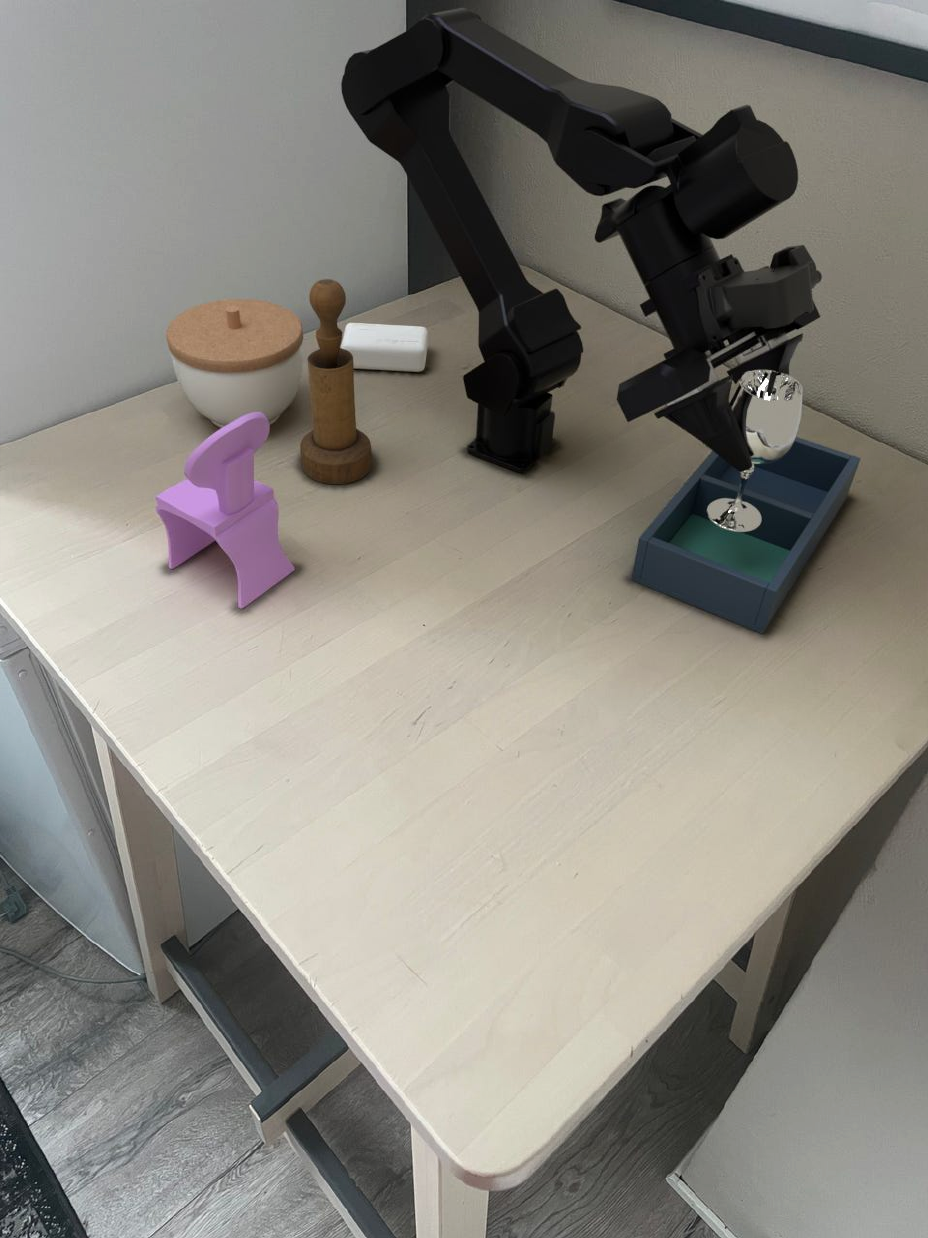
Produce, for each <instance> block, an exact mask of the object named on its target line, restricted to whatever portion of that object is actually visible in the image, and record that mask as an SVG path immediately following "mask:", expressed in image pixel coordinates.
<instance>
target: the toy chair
mask: <svg viewBox="0 0 928 1238" xmlns="http://www.w3.org/2000/svg"><path fill="white" fill-rule="evenodd" d="M270 428H271V425H269V422H268V420H267V418H266V416H265V415H264V414H263V413H261V412H253V413H249V414H246V415H244V416H242V417H240V418H238V419H236V420H235V421H233V422H231V423H230V424H228V425H226V426H224V427H223V428H219V429H218V430H216V431H215V432H213V433H212V434H211V435H210V436H209V437H207V438H206V439H205V440H203V442H201V443H200V444H199V445H198V446H197V447H195V449H194V450H193V451H192V452H191V454H190V455H189V456H188V458H187V460H186V462H185V464H184V475H185V477H186V479H183V480H182V481H180V482H179V483H177V484H174V485H173V486H171V487H169V488H167V489H165V490H163V491H162V492H160V493H158V494H157V495H156V496H155V501H156V504H157V505H155V511H156V513H157V514H158V516H159V518H160V519H161V521H162V523H163V525H164V528H165V531H166V536H167V545H168V546H167V548H168V549H167V550H168V551H167V552H168V568H169V569H171V570H173V569H175V568H176V567H178V566H179V565H181V564H183V563H184V562H185V561H187V560H189V559H190V558H192V557H193V556H194V555H196V554H197V553H199V552H201V551H202V550H203V549H205V548H206V547H208V546H210V545H211V544H213V543H214V542H216V543H217V544H218V545H219V547H220V548H221V549H222V550H223V552H224V553H226V555H227V556H228V557H229V559H230V560H231V562H232V563H233V566H234V568H235V571H236V572H235V573H236V575H237V591H238V592H237V593H238V595H237V596H238V597H237V607H238V608H239V609H241V610H243V609H244V608H245V607H247V606H248V605H250V604H251V603H252V602H254V601H255V600H256V599H258V598H259V597H260V596H262V595H263V594H265V593H266V592H267V591H269V590H270V589H271V588H273V587H274V586H276V585H277V584H278V583H279V582H281V581H282V580H284V579H285V578H286V577H288V576H289V575H290V574H291V573H293V572H294V571H295V570H296V568H295V566H294V564H293V563H292V562H291V561H290V559H289V558H288V557H287V556H286V553H285V552H284V550H283V549H282V545H281V542H280V539H279V511H280V510H279V504H278V501H277V500H276V498H275V493H274V488H272V487H271V486H269V485H267V484H264V483H263V482H260V481H258V480H257V479H256V480H255V454H256V453H257V452H258V450H259V449H260V448H261V447H262V446H263V445H264V443H265V442H266V441H267V439H268V438H269V434H270Z"/></svg>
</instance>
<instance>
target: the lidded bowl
mask: <svg viewBox="0 0 928 1238" xmlns="http://www.w3.org/2000/svg"><path fill="white" fill-rule="evenodd" d="M165 334H166V337H165V338H166V342H167V346H168V349H169V352H170V357H171V362H172V365H173V369H174V374H175V377H176V379H177V383H178V385H179V387H180V390H181V391H182V393H183V395H184V396H185V398H186V399H187V401H188V402H189V404H190V405H191V406H192V407H193V408H194V409H195V410H196V411H197V412H198V413H199V414H200V415H202V416H204V417H205V418H206V419H208V420H210V422H211V423H212V424H213V425H215V426H216V427H218V428H219V429H221V428H223V427H224V426H226V425H228V424H230V423H231V422H233V421H235V420H236V419H238V418H240V417H242V416H244V415H246V414H249V413H253V412H261V413H263V414H264V415H265V416H266V418H267V420H268V422H269V426H271V425H273V424H274V423H276V422H277V421H278V420H279V418H280V417H281V415H282V413H284V412H285V410H287V408H288V407H289V406H290V405H291V404H292V402H293V401H294V399H295V397H296V395H297V394H298V391H299V389H300V385H301V381H302V376H303V367H304V348H303V340H304V330H303V323H302V322H301V320H300V318H299V317H298V316H297V315H296V314H295V313H294V312H293V311H291V310H290V309H288V308H287V307H284V306H283V305H279V304H277V303H274V302H270V301H266V300H261V299H252V298H251V299H250V298H228V299H219V300H214V301H209V302H205V303H201V304H198V305H195V306H192V307H190V308H188V309H186V310H184V311H183V312H181V313H179V314H178V315H176V316H175V317H174V318H173V319H172V320H171V322H170V323H169V325H168V327H167V329H166V333H165Z"/></svg>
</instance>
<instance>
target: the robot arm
mask: <svg viewBox="0 0 928 1238" xmlns="http://www.w3.org/2000/svg"><path fill="white" fill-rule="evenodd" d="M452 83H457V84H458V85H460V86H461V87H463V88H464V89H466V90H468V91H469V92H471V93H472V94H474V96H475V95H476V96H477V97H478V98H480V99H481V100H483V101H485V102H486V103H488V104H489V105H491V106H493V107H494V108H496V109H497V110H499V111H500V112H502V113H504V114H505V115H507V116H508V117H510V118H512V119H513V120H514V121H516V122H517V123H519V124H520V125H522V126H524V127H526V129H528V130H531V131H532V132H533V133H534V134H536V135H538V136H539V137H540V138H541V139H542V140H543V141H544V142H545V143H546V144H547V146H548V149H549V151H550V154H551V157H552V159H553V161H554V163H555V164H556V166H557V167H558V168H559V169H561V170H562V171H563V172H564V174H565V175H567V176H568V177H569V178H570V179H571V180H572V181H573V182H574V183H575V184H577V185H578V187H580V189H582V190H583V191H584V192H586V193H588V194H590V195H592V196H596V197H603V196H607V195H611V194H613V193H616V192H619V191H622V190H624V189H626V188H627V189H638V188H641V187H643V188H642V189H640V190H639V191H638V192H637V193H635V194H634V195H633V196H631V197H630V198H628V199H624V198H622V197H619V198H616V199H613V200H611V201H608V202H605V203H603V204H602V205H601V214H600V218H599V221H598V223H597V225H596V230H595V233H594V240H595V242H596V243H599V244H600V243H603V242H605V241H606V242H607V241H608V240H610V239H613V238H616V237H617V236H619V237H620V240H621V241H622V243H623V245H624V247H625V250H626V252H627V254H628V256H629V258H630V260H631V262H632V264H633V267H634V269H635V271H636V273H637V274H638V277H639V279H640V281H641V283H642V285H643V286H644V290H645V291H646V294H647V295H648V299H646V300H645V301H644V302H642V303H640V304H639V307H640V309H641V310H642V313H643V315H644V318H646V317H648V316H650V315H653V314H655V313H656V314H657V317H658V319H659V320H660V323H661V325H662V327H663V329H664V331H665V333H666V335H667V337H668V339H669V342H670V344H671V345H672V349H670V350H668V351H666V352H665V353H663V357H664V359H663V360H662V361H660V362H658V363H656V364H654V365H652V366H650V367H649V368H646V369H645V370H643V371H641V372H639V373H637V374H635V375H634V376H631V377H629V378H627V379H625V380H624V381H622V382H620V383H619V384H618V387H617V393H616V394H617V395H616V401H617V403H618V406H619V407H620V410H621V412H622V413H623V416H624V418H625V420H626V422H627V423H630V422H631V421H634V420H636V419H639V418H640V417H642V416H644V415H646V414H648V413H651V412H653V411H655V410H657V409H659V408H661V407H662V408H661V409H659V410H657V411H655V412H654V416H655V418H656V419H661V418H665V419H667V421H670V422H671V423H673V424H674V425H676V426H677V427H679V428H681V429H682V430H684V431H685V432H687V433H688V434H690V435H691V436H692V437H694V438H695V439H696V440H698V441H699V442H700V443H702V444H703V445H705V446H706V447H707V448H708V449H710V450H711V452H712V451H714V452H715V453H716V454H717V455H719V456H720V457H721V458H723V459H724V460H725V461H726V462H728V463H729V464H730V465H732V466H733V467H734V468H735V469H737V470H738V471H740V472H743V471H746V470H748V469H750V468H751V467H752V462H751V458H750V455H749V452H748V449H747V446H746V443H745V441H744V438H743V436H742V433H741V431H740V428H739V426H738V423H737V421H736V418H735V416H734V413H733V411H732V408H731V406H730V403H729V396H730V394H731V390H732V384H733V383H734V384H735V385H736V383H737V382H738V380H739V378H740V377H741V376H742V374H744V373H746V372H748V371H751V370H757V369H767V370H774V371H779V372H782V373H785V374H787V375H789V376H790V364H791V361H792V359H793V357H794V353H795V352H796V350H797V347H798V345H799V344H800V343H801V342H802V341H803V338H804V333H800V334H798V335H795V336H793V337H791V338H788V334H789V333H791V332H793V331H798V330H800V329H803V328H804V327H806V326H808V325H810V324H811V323H813V322H815V321H816V320H818V319H819V318H821V313H820V312H819V310H818V308H817V305H816V303H815V301H814V298H813V289H814V288H815V287H816V285H818V284H819V283H820V282H821V281H822V279H823V275H822V273H821V271H820V270H818V269H817V264H816V263H815V260H814V259H813V258H812V256H811V254H810V253H809V251H808V249H807V247H806V246H805V244H800V245H799V244H798V245H791V246H786V247H784V248H782V249H780V250H778V251H775V252H774V254H773V256H772V259H771V262H770V264H769V265H765V266H762V267H760V268H758V269H755V270H748V271H745V270H744V269H743V267H742V265H741V263H740V260H739V258H738V257H734V255H733V253H731V254H729V255H727V256H725V257H722V258H720V256H719V252H718V250H717V249H716V247H715V245H714V243H713V241H712V240H713V239H714V240H724V239H726V238H728V237H730V236H731V235H733V234H735V233H737V232H738V231H739V230H741V229H743V228H745V227H746V226H747V225H749V224H750V223H753V222H754V221H756V220H757V219H759V218H760V217H762V216H763V215H765V214H767V213H768V212H770V211H772V210H773V209H775V208H776V207H778V206H780V205H781V204H783V203H784V202H786V201H788V200H789V199H790V198H791V197H792V196H793V195H794V194H795V192H796V190H797V188H798V183H799V170H798V165H797V159H796V157H795V154H794V152H793V149H792V147H791V145H790V143H789V142H788V141H784V139H783V138H782V136H781V135H780V134H779V133H778V132H777V131H776V130H775V129H774V128H773V126H771V125H769V124H768V123H766V122H764V121H762V120H759V119H757V117H756V116H755V113H754V111H753V108H752V106H751V105H750V104H744V105H742V106H738V107H736V108H732V109H730V110H729V111H728V112H726V113H725V114H723V115H722V116H721V117H720V118H718V120H717V121H716V122H715V123H714V124H713V126H712V127H711V128H710V129H709V130H708V131H706V132H705V133H701V132H698V131H697V130H695V129H693V128H691V127H689V126H687V125H685V124H684V123H682V122H680V121H678V120H676V119H674V118H672V113H671V112H670V110H669V108H668V107H667V105H665V103H663V102H662V101H661V100H660V99H658V98H656V97H654V96H651V95H648V94H645V93H642V92H639V91H636V90H633V89H630V88H626V87H624V86H620V85H619V86H618V85H610V84H603V83H597V82H590V81H587V80H584V79H581V78H578V77H577V76H576V75H573V74H571V72H568V71H567V70H565V69H563V68H561V67H560V66H558V65H556V64H555V63H553V61H552V62H551V61H550V60H548V59H547V58H545V57H543V56H542V55H540V54H538V53H536V52H535V51H533V50H532V49H530V48H528V47H526V46H525V45H523V44H521V43H520V42H518V41H517V40H515V39H513V38H511V37H510V36H508V35H507V34H505V33H503V32H501V31H500V30H498V29H496V28H495V27H493V26H491V25H490V24H488V23H486V22H485V21H483V19H482V17H481V16H480V15H479V14H478V13H477V12H476V11H474V10H470V9H468V8H465V7H460V8H459V7H458V8H454V9H449V10H443V11H437V12H433V13H430V14H425V15H424V17H422V19H420V20H418V21H417V22H416V23H415V24H413V25H412V26H410V27H409V28H408V29H407V30H406V31H404V32H402V33H400V34H398V35H396V36H395V37H393V38H390V39H389V40H388V41H386V42H384V43H382V44H381V45H379V46H377V47H374V48H373V49H368V50H363V51H358V52H354V53H353V54H352V55H351V56H349V58H348V60H347V62H346V64H345V67H344V73H343V75H342V78H341V82H340V86H341V95H342V99H343V102H344V104H345V107H346V109H347V111H348V113H349V115H350V116H351V117H352V119H353V120H354V121H355V123H356V124H357V126H358V128H359V129H360V130H361V132H362V133H363V135H364V137H365V138H366V139H367V140H368V142H369V143H370V144H372V145H374V146H375V147H376V148H377V149H379V150H381V151H382V152H384V153H385V154H387V155H388V156H389V157H390V158H392V159H394V160H395V161H396V162H398V163H399V164H400V166H401V167H402V169H403V171H404V173H405V175H406V176H407V178H408V180H409V182H410V184H411V186H412V188H413V190H414V192H415V193H416V195H417V197H418V199H419V201H420V203H421V204H422V207H423V209H424V211H425V212H426V214H427V216H428V218H429V220H430V222H431V224H432V225H433V227H434V230H435V231H436V233H437V235H438V236H439V239H440V241H441V242H442V244H443V246H444V248H445V249H446V253H447V254H448V255H449V257H450V260H451V261H452V263H453V265H454V267H455V269H456V270H457V273H458V274H459V276H460V278H461V280H462V282H463V285H464V286H465V288H466V290H467V292H468V293H469V296H470V297H471V299H472V301H473V303H474V305H475V306H476V309H477V312H478V337H477V338H478V339H477V342H478V343H477V345H478V349H479V352H480V354H481V356H482V359H483V362H481V363H480V364H478V365H476V366H475V367H474V368H473V369H471V370H470V371H468V372H466V373H465V374H464V375H462V380H463V385H464V390H465V395H466V398H467V399H468V400H470V401H472V402H474V403H475V404H477V414H476V415H477V416H476V429H475V431H476V432H475V435H476V436H475V439H473V440H472V441H471V442H470V443H469V444H467V445H466V451H467V453H468V454H471V455H473V456H476V457H479V458H481V459H484V460H486V461H489V462H492V463H494V464H497V465H499V466H502V467H505V468H506V469H507V468H508V469H510V470H512V471H514V472H517V473H523V474H524V473H526V472H528V470H529V469H530V468H531V467H533V466H534V465H535V463H537V462H538V461H540V460H541V459H542V458H544V456H545V455H546V454H547V453H548V452H549V451H550V450H551V449H552V448H553V447H554V446H555V444H556V439H555V438H554V437H553V436H554V428H555V427H554V426H555V419H556V413H555V411H554V410H553V411H552V403H553V394H552V393H550V392H552V391H554V390H556V389H557V388H558V389H559V388H562V387H563V386H565V385H566V382H567V380H568V379H569V378H570V377H572V376H574V374H575V373H577V371H578V369H579V368H580V365H581V363H582V362H581V361H582V354H583V352H584V345H583V341H582V338H581V336H580V334H579V332H578V331H579V330H581V329H582V325H581V324H579V322H578V321H577V320H576V319H575V318H574V316H573V315H572V313H571V312H570V309H569V307H568V303H567V301H566V298H565V295H563V293H562V292H561V291H560V290H559V289H558V288H553V289H550V290H547V291H545V292H543V291H541V290H540V289H538V288H537V287H536V286H534V285H532V284H531V283H530V282H529V281H528V279H527V278H526V276H525V273H524V272H523V271H522V268H521V267H520V265H519V263H518V261H517V258H516V257H515V255H514V253H513V251H512V249H511V247H510V245H509V244H508V242H507V240H506V238H505V236H504V234H503V231H502V230H501V228H500V226H499V225H498V223H497V221H496V219H495V217H494V215H493V212H492V211H491V208H490V207H489V205H488V203H487V202H486V199H485V198H484V196H483V194H482V192H481V190H480V188H479V186H478V184H477V182H476V181H475V179H474V176H473V174H472V173H471V171H470V169H469V167H468V165H467V163H466V161H465V159H464V158H463V156H462V153H461V151H460V150H459V148H458V146H457V144H456V142H455V140H454V138H453V136H452V133H451V95H450V93H449V90H448V86H449V85H451V84H452ZM665 178H667V179H668V181H669V183H670V184H669V185H667V186H662V185H655V184H653V185H649V184H651V183H654V182H657V181H660V180H662V179H665ZM647 185H648V186H647ZM644 186H645V187H644ZM725 341H727V342H728V344H725ZM708 351H709V354H708V355H707V353H706V352H708ZM732 359H734V360H735V362H736V365H735V366H733V367H732V368H730V369H728V370H726V374H727V376H726V377H724V378H721V379H720V378H719V377H718V374H717V372H716V370H715V369H716V368H719V367H720V366H722V365H724V364H725V363H727V362H728V361H730V360H732ZM663 406H664V407H663Z"/></svg>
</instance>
